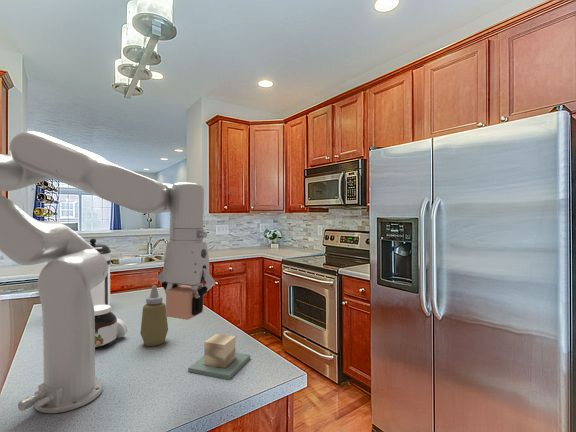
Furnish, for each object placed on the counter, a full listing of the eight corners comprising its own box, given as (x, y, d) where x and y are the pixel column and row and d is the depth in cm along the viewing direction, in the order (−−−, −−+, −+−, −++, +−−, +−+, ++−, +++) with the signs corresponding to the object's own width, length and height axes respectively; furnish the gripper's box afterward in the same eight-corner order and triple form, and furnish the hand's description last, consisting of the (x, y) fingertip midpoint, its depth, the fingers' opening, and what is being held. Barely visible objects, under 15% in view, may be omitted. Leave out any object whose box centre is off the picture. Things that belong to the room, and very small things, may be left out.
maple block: (235, 358, 89) (235, 336, 89) (224, 368, 84) (224, 345, 83) (216, 354, 91) (216, 333, 91) (204, 364, 85) (204, 341, 85)
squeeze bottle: (140, 340, 104) (140, 284, 103) (167, 336, 107) (167, 282, 107) (140, 350, 96) (139, 290, 96) (168, 345, 99) (168, 287, 99)
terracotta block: (187, 319, 72) (188, 293, 72) (165, 316, 74) (166, 290, 74) (203, 312, 78) (203, 287, 78) (182, 309, 80) (182, 285, 80)
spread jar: (74, 351, 95) (74, 312, 95) (91, 336, 106) (91, 301, 106) (118, 349, 97) (117, 310, 97) (130, 334, 108) (130, 300, 108)
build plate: (229, 379, 80) (229, 375, 80) (188, 371, 84) (188, 367, 84) (250, 358, 91) (250, 355, 91) (213, 352, 95) (213, 348, 95)
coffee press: (92, 304, 142) (91, 236, 141) (122, 307, 137) (122, 237, 137) (54, 317, 125) (53, 239, 125) (86, 321, 121) (86, 241, 120)
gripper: (227, 236, 77) (225, 312, 77) (166, 233, 82) (165, 303, 82) (209, 238, 70) (207, 321, 70) (145, 234, 75) (143, 312, 75)
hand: (184, 311), depth 76 cm, fingers closed on terracotta block, 6 cm apart
